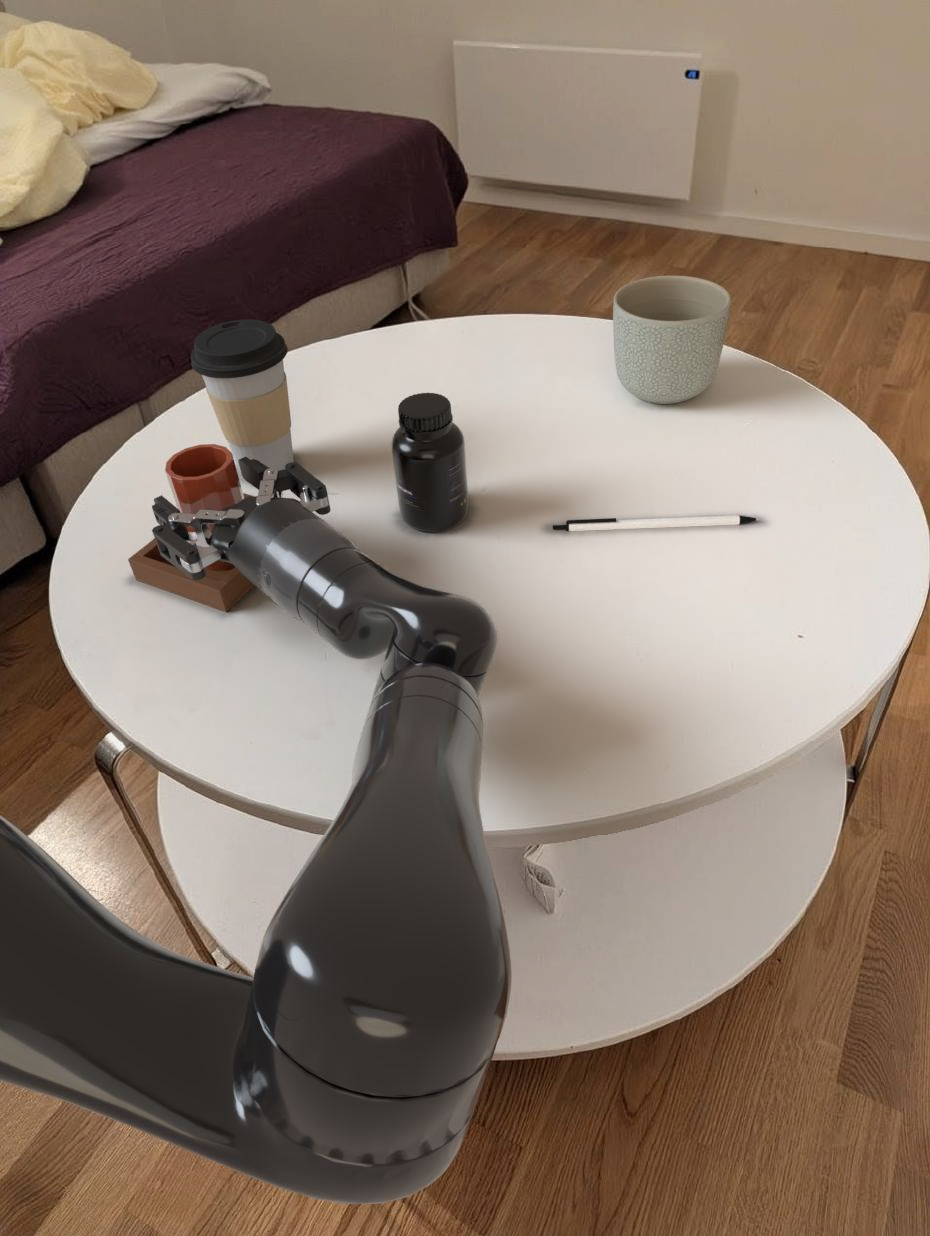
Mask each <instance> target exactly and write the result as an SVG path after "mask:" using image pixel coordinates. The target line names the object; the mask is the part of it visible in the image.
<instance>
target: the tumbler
mask: <svg viewBox="0 0 930 1236" xmlns="http://www.w3.org/2000/svg"><path fill="white" fill-rule="evenodd" d="M164 472H165V475H166V478H167V480H168V484H169V487H170V489H171V490H170V491H171V492H172V495H173V498H174V502H175V505H176V508H177V509H179V510H180V512H181V513H190V514H196V512H197V511H198V510H200V509H202V510H217V511H220V510H222V509H224V508H226V507H229V506H232V505H235V504H237V503H239V502H240V501H241V500H243V499H244V495H243V493H244V491H243V488H242V485H241V481H240V477H239V473H238V470H237V466H236V461H235V458H234V456H233V453H232V451H231V450H230V449H229V448H227V447H226V446H223V445H219V444H216V443H205V444H197V445H193V446H189V447H186V448H183V449H182V450H179V451H178V452H176V453H174V454H172V456H170V458H169V459H168V460H167V461H166V463H165V468H164ZM209 526H210V530H211V533H212V534H213V528H214V524H209ZM186 527H187V530H188V532H195V530H194V528H193V527H189V526H186ZM234 567H235V566H234V565H233V564H231V563H228V562H223V561H220V560H217V561H215V562H213V563H212V564H210V565H208V566H206V567H204V568H205V569H209V570H227V569H231V568H234Z"/></svg>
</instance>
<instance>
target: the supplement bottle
mask: <svg viewBox="0 0 930 1236" xmlns="http://www.w3.org/2000/svg"><path fill="white" fill-rule="evenodd" d="M397 413H398V426H399V427H398V428H397V429H396V430H395V432H394V433H393V436H392V438H391V454H392V462H393V469H394V470H393V471H394V479H395V485H396V493H397V502H398V509H399V514H400V517H401V519H402V521H403V523H405V524H406V525H407V526H408V527H410V528H412V529H415V530H417V531H421V532H427V533H436V532H437V533H438V532H443V531H446V530H449V529H452V528H454V527H456V526H457V525H459V524H460V523H462V521H463V520H464V519H465V518H466V516H467V514H468V512H469V491H468V475H467V461H466V459H467V458H466V446H465V444H466V443H465V436H464V433H463V431H462V430H461V429H460V427H459V426H458V425H457V424H455V422H454V419H453V418H454V416H453V413H452V404H451V401H450V400H449V398H448V397H446V396H445V395H443V394H439V393H435V392H420V393H416V394H412V395H409V396H407V397H404V399H402V400H401V401H400V402H399V404H398V407H397Z"/></svg>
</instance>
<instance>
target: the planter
mask: <svg viewBox="0 0 930 1236" xmlns="http://www.w3.org/2000/svg"><path fill="white" fill-rule="evenodd" d="M612 301H613V302H612V335H613V355H614V364H615V365H614V366H615V371H616V376H617V378H618V380H619V383H620V384H621V385H622V386H623V388H624V389H625V390H626V391H627V392H629V393H630V394H631V395H633V396H634V397H636V398H639V399H640V400H642V401H644V402H649V403H653V404H660V405H661V404H662V405H670V404H671V405H672V404H679V403H682V402H685V401H688V400H690V399H693V398H694V397H696V396H698V395H700V394H702V393H703V392H704V391H705V390H707V388H708V387H709V386H710V385H711V384H712V382H713V381H714V379H715V376H716V374H717V371H718V368H719V365H720V360H721V357H722V353H723V348H724V343H725V339H726V334H727V330H728V329H727V328H728V324H729V319H730V318H729V317H730V313H731V303H732V297H731V295H730V292H729V291H728V290H727V289H725V288H724V287H723V286H721V285H719V284H718V283H716V282H715V281H714V282H713V281H711V280H708V279H704V278H700V277H695V276H687V275H658V276H657V275H656V276H650V277H649V276H648V277H645V278H640V279H636V280H634V281H631V282H628V283H627V284H625V285H623V286H621V287H620V288H619V289H618V290H617V291H616V292H615V294H614V295H613V300H612Z"/></svg>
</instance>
